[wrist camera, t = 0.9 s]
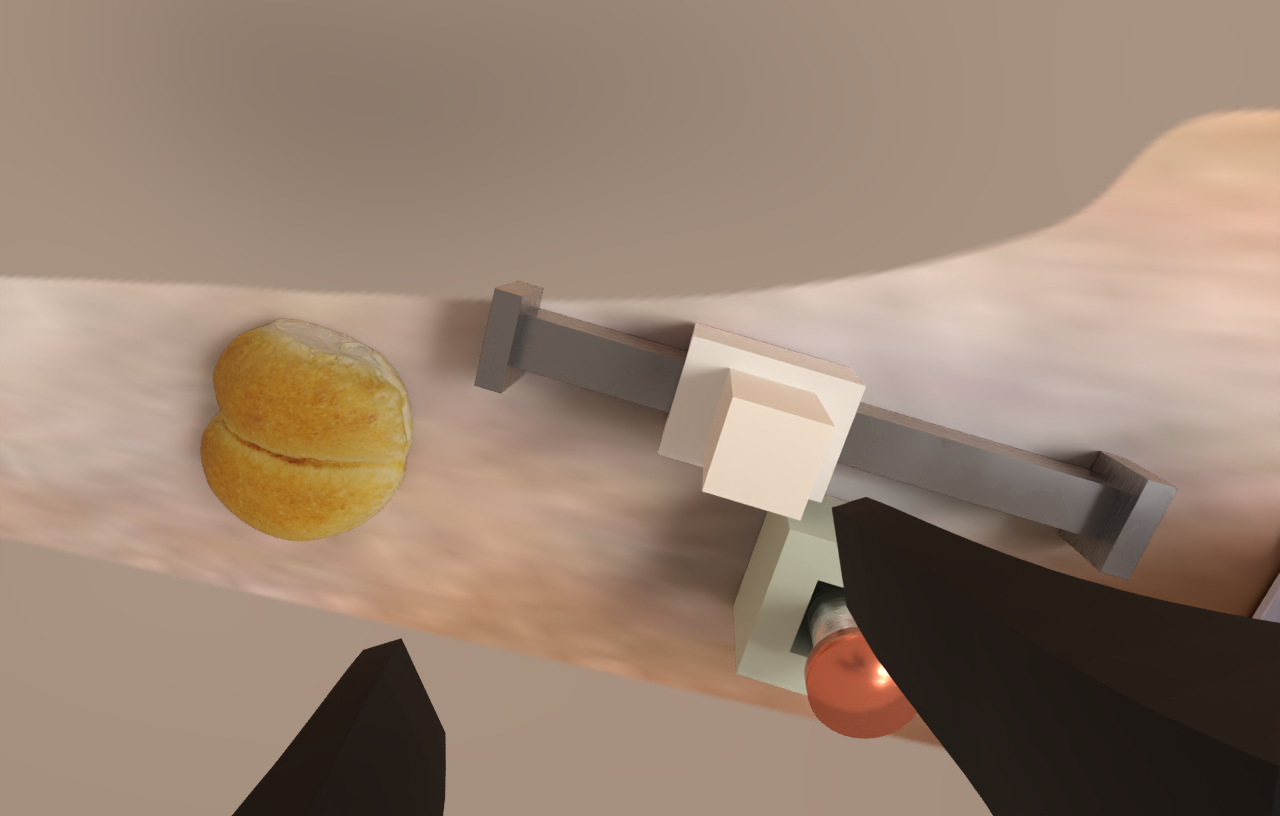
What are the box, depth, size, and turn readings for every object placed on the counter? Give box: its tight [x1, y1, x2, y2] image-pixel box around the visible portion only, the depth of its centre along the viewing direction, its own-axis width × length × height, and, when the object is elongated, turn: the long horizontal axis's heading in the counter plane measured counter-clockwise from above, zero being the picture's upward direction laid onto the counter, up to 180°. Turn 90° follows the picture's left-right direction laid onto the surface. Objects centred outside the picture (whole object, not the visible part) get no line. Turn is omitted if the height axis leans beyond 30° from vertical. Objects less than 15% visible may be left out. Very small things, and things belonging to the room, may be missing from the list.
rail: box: [474, 281, 1178, 580], centre depth 25 cm, size 24×4×3 cm, turn 74°
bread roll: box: [200, 319, 413, 541], centre depth 27 cm, size 8×9×4 cm
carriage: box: [658, 323, 866, 520], centre depth 23 cm, size 6×4×7 cm
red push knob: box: [804, 580, 917, 738], centre depth 23 cm, size 3×3×5 cm
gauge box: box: [733, 495, 848, 696], centre depth 26 cm, size 6×6×4 cm
